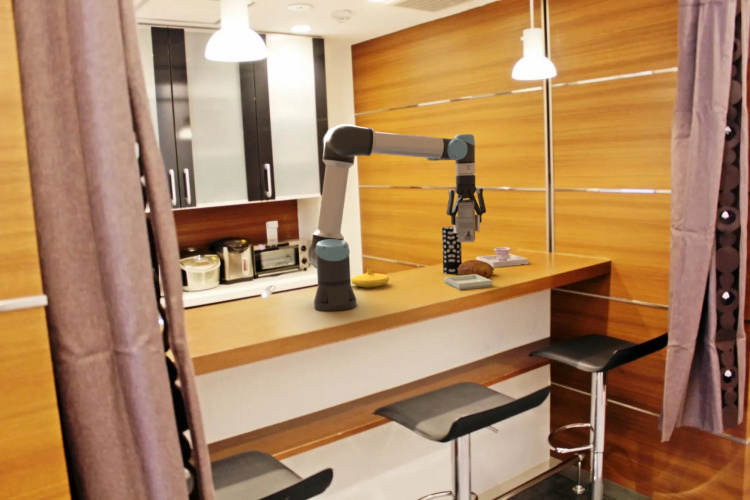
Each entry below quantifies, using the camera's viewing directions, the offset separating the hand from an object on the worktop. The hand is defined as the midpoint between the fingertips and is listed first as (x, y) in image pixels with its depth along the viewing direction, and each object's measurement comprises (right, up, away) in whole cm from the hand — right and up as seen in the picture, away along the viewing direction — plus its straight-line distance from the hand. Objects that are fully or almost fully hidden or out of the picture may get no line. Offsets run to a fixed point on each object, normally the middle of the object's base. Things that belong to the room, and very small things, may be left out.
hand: (466, 232), depth 245 cm
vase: (-38, -22, +9) cm, 45 cm away
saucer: (+24, -13, +49) cm, 56 cm away
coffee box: (0, -4, +1) cm, 4 cm away
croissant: (+7, -19, +21) cm, 29 cm away
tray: (+1, -21, +3) cm, 21 cm away
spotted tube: (-2, -17, +31) cm, 35 cm away
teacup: (+25, -13, +50) cm, 57 cm away
